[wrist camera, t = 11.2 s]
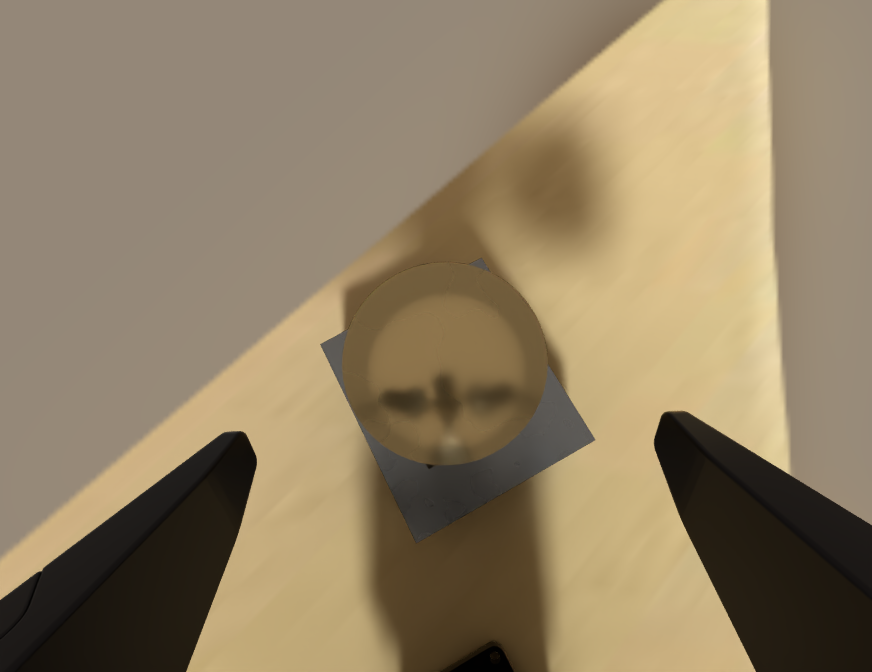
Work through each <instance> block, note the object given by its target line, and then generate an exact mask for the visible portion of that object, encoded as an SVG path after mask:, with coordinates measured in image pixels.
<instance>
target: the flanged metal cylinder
mask: <svg viewBox="0 0 872 672" xmlns="http://www.w3.org/2000/svg"><path fill="white" fill-rule="evenodd" d="M547 368H548V358H547V348H546V343H545V338H544V334H543V332H542V329H541V326H540V323H539V321H538V319H537V317H536V315H535V313H534V312H533V310H532V309H531V307H530V306H529V304H528V303H527V301H526V300H525V299H524V298H523V297H522V296H521V295H520V293H519V292H518V291H517V290H515V289H514V288H513V287H512V286H511V285H510V284H509V283H507V282H506V281H504V280H503V279H501V278H500V277H498V276H497V275H495V274H493V273H491V272H489V271H486V270H484V269H481V268H478V267H475V266H472V265H467V264H463V263H454V262H435V263H429V264H423V265H419V266H416V267H412V268H409V269H407V270H405V271H402V272H400V273H398V274H396V275H394V276H393V277H391V278H389V279H388V280H386V281H385V282H384V283H382V284H381V285H380V286H378V287H377V288H376V289H375V290H374V291H373V292H372V293H371V294H370V295H369V296H368V297H367V298H366V300H365V301H364V302H363V303H362V305H361V306H360V308H359V309H358V311H357V312H356V314H355V316H354V318H353V320H352V322H351V324H350V326H349V329H348V332H347V335H346V338H345V342H344V348H343V355H342V372H343V381H344V386H345V390H346V394H347V397H348V399H349V402H350V405H351V407H352V409H353V411H354V413H355V414H356V416H357V418H358V419H359V421H360V422H361V424H362V425H363V426H364V428H365V429H366V430H367V431H368V432H369V433H370V434H371V435H372V436H373V437H374V438H375V439H376V440H377V441H378V442H380V443H381V444H382V445H383V446H384V447H386V448H388V449H389V450H391V451H393V452H394V453H396V454H398V455H400V456H402V457H405V458H407V459H409V460H413V461H416V462H420V463H424V464H431V465H458V464H465V463H469V462H472V461H476V460H479V459H482V458H484V457H486V456H489V455H491V454H493V453H495V452H496V451H498V450H500V449H501V448H503V447H504V446H506V445H507V444H508V443H509V442H511V441H512V440H513V439H514V438H515V437H516V436H517V435H518V434H519V433H520V432H521V431H522V430H523V429H524V428H525V427H526V425H527V424H528V422H529V421H530V420H531V418H532V417H533V415H534V413H535V411H536V409H537V407H538V405H539V403H540V401H541V398H542V395H543V392H544V389H545V384H546V379H547Z"/></svg>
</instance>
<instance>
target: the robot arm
mask: <svg viewBox="0 0 872 672" xmlns="http://www.w3.org/2000/svg"><path fill="white" fill-rule="evenodd" d="M654 447H655V451H656V454H657V456H658V459H659V462H660V465H661V467H662V470H663V473H664V475H665V478H666V481H667V484H668V486H669V489H670V492H671V494H672V497H673V500H674V503H675V505H676V508H677V510H678V513H679V515H680V518H681V520H682V522H683V525H684V527H685V529H686V531H687V533H688V535H689V537H690V539H691V541H692V543H693V545H694V547H695V549H696V551H697V553H698V555H699V557H700V559H701V561H702V563H703V565H704V567H705V569H706V571H707V573H708V576H709V578H710V580H711V582H712V584H713V586H714V588H715V590H716V592H717V594H718V596H719V598H720V600H721V602H722V604H723V606H724V608H725V610H726V612H727V614H728V616H729V618H730V620H731V622H732V624H733V626H734V628H735V630H736V632H737V634H738V636H739V638H740V640H741V642H742V644H743V646H744V648H745V650H746V652H747V654H748V656H749V658H750V661H751V663H752V665H753V667H754V669H755V671H756V672H872V525H870V524H869V523H867V522H865V521H864V520H862V519H861V518H859V517H857V516H856V515H854V514H852V513H851V512H849V511H848V510H846V509H844V508H843V507H841V506H839V505H838V504H836V503H835V502H833V501H831V500H830V499H828V498H826V497H825V496H823V495H822V494H820V493H818V492H817V491H815V490H813V489H812V488H810V487H808V486H807V485H805V484H804V483H802V482H800V481H799V480H797V479H795V478H794V477H792V476H791V475H789V474H787V473H786V472H784V471H782V470H781V469H779V468H778V467H776V466H774V465H773V464H771V463H769V462H768V461H766V460H765V459H763V458H761V457H760V456H758V455H756V454H755V453H753V452H752V451H750V450H748V449H747V448H745V447H743V446H742V445H740V444H739V443H737V442H735V441H734V440H732V439H730V438H729V437H727V436H726V435H724V434H722V433H721V432H719V431H717V430H716V429H714V428H713V427H711V426H709V425H708V424H706V423H704V422H703V421H701V420H699V419H698V418H696V417H695V416H693V415H691V414H690V413H688V412H685V411H668V412H664V413H663V414H662V416H661V419H660V422H659V425H658V428H657V432H656V435H655V438H654ZM256 466H257V458H256V455H255V452H254V450H253V448H252V446H251V444H250V441H249V439H248V437H247V435H246V434H245V433H244V432H242V431H233V432H224V433H222V434H221V435H219V436H218V437H217V438H215V439H214V440H213V441H211V442H210V443H209V444H207V445H206V446H205V447H203V448H202V449H201V450H199V451H198V452H197V453H195V454H194V455H193V456H191V457H190V458H189V459H187V460H186V461H185V462H183V463H182V464H181V465H179V466H178V467H177V468H175V469H174V470H173V471H172V472H170V473H169V474H168V475H166V476H165V477H164V478H162V479H161V480H160V481H158V482H157V483H156V484H154V485H153V486H152V487H150V488H149V489H148V490H146V491H145V492H144V493H142V494H141V495H140V496H138V497H137V498H136V499H134V500H133V501H132V502H130V503H129V504H128V505H126V506H125V507H124V508H122V509H121V510H120V511H118V512H117V513H116V514H114V515H113V516H112V517H110V518H109V519H108V520H106V521H105V522H104V523H102V524H101V525H100V526H98V527H97V528H96V529H94V530H93V531H92V532H90V533H89V534H88V535H86V536H85V537H84V538H82V539H81V540H80V541H78V542H77V543H76V544H74V545H73V546H72V547H70V548H69V549H68V550H66V551H65V552H64V553H62V554H61V555H60V556H58V557H57V558H56V559H54V560H53V561H52V562H50V563H49V564H48V565H46V566H45V567H44V568H43V570H42V571H39V572H37V573H36V574H34V575H33V576H32V577H30V578H29V579H28V580H26V581H25V582H24V583H22V584H21V585H20V586H18V587H17V588H16V589H14V590H13V591H12V592H10V593H9V594H8V595H6V596H5V597H4V598H2V599H1V600H0V672H186V671H187V668H188V665H189V663H190V660H191V657H192V655H193V652H194V650H195V647H196V644H197V642H198V639H199V636H200V634H201V631H202V629H203V626H204V623H205V621H206V618H207V615H208V613H209V610H210V607H211V605H212V602H213V600H214V597H215V594H216V592H217V589H218V586H219V584H220V581H221V579H222V576H223V573H224V571H225V568H226V565H227V563H228V560H229V558H230V555H231V552H232V550H233V547H234V544H235V541H236V539H237V536H238V533H239V529H240V526H241V523H242V519H243V515H244V512H245V508H246V504H247V500H248V497H249V493H250V489H251V485H252V482H253V478H254V474H255V470H256ZM492 652H497V653H498V654H499V657H498V658H497V659H495V660H494V659H492V658H491V657H490V654H491V653H492ZM441 672H515V670H514V668H513V666H512V664H511V662H510V660H509V658H508V656H507V654H506V652H505V650H504V648H503V647H502V646H501V644H499V643H498V642H490V643H488V644H486V645H485V646H483V647H481V648H480V649H478V650H476V651H475V652H473V653H471V654H470V655H468V656H466V657H465V658H463V659H461V660H460V661H458V662H456V663H455V664H453V665H451V666H450V667H448V668H446V669H445V670H443V671H441Z"/></svg>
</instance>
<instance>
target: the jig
mask: <svg viewBox="0 0 872 672" xmlns="http://www.w3.org/2000/svg"><path fill="white" fill-rule="evenodd" d="M469 265H472V266H475V267H478V268H481V269H484V270H486V271H489V269H488V267H487V266H486V264H485V263H484V261H483V259H482V258H480V259H478V260H476V261H475V262H473V263H471V264H469ZM489 272H490V271H489ZM347 332H348V330H346V331H344V332H342V333H340V334H338V335H337V336H335V337H333V338H331V339H329V340H327V341H325V342H324V343H322V344H320V345H321V347H322V349H323V351H324V353H325V355H326V357H327V359H328V361H329V363H330V366H331V368H332V370H333V372H334V374H335V376H336V378H337V380H338V382H339V384H340V386H341V388H342V390H343V393H344V395H345V397H346V399H347V401H348V403H349V405H350V402H349V399H348V397H347V394H346V390H345V386H344V381H343V372H342V355H343V348H344V342H345V338H346V335H347ZM350 407H351V405H350ZM351 409H352V407H351ZM352 411H353V409H352ZM353 413H354V411H353ZM354 415H355V417H356V419H357V422H358V424H359V426H360V428H361V430H362V432H363V434H364V436H365V438H366V440H367V442H368V444H369V446H370V448H371V451H372V453H373V455H374V457H375V459H376V461H377V463H378V465H379V467H380V469H381V471H382V473H383V475H384V477H385V480H386V482H387V484H388V486H389V488H390V490H391V492H392V494H393V496H394V498H395V500H396V502H397V504H398V506H399V509H400V511H401V513H402V515H403V517H404V519H405V521H406V523H407V525H408V527H409V529H410V531H411V533H412V536H413V538H414V540H415V542H416V543H418V542H420V541H421V540H423V539H425V538H426V537H428V536H430V535H432V534H433V533H435V532H437V531H439V530H440V529H442V528H444V527H446V526H447V525H449V524H451V523H452V522H454V521H456V520H458V519H459V518H461V517H463V516H465V515H466V514H468V513H470V512H472V511H473V510H475V509H477V508H478V507H480V506H482V505H484V504H485V503H487V502H489V501H491V500H492V499H494V498H496V497H497V496H499V495H501V494H503V493H504V492H506V491H508V490H510V489H511V488H513V487H515V486H517V485H518V484H520V483H522V482H523V481H525V480H527V479H529V478H530V477H532V476H534V475H536V474H537V473H539V472H541V471H542V470H544V469H546V468H548V467H549V466H551V465H553V464H555V463H556V462H558V461H560V460H562V459H563V458H565V457H567V456H568V455H570V454H572V453H574V452H575V451H577V450H579V449H581V448H582V447H584V446H586V445H588V444H589V443H591V442H593V441H594V440H595V438H594V437H593V435H592V434H591V432H590V430H589V429H588V427H587V426H586V424H585V422H584V421H583V419H582V418H581V416H580V414H579V413H578V411H577V410H576V408H575V406H574V405H573V403H572V402H571V400H570V398H569V397H568V395H567V394H566V392H565V390H564V389H563V387H562V386H561V384H560V382H559V381H558V379H557V378H556V376H555V375H554V373H553V371H552V370H551V368H550V367H549V365H548V368H547V379H546V384H545V389H544V392H543V395H542V398H541V401H540V403H539V405H538V407H537V409H536V411H535V413H534V415H533V417H532V418H531V420H530V421H529V422H528V424H527V425H526V427H525V428H524V429H523V430H522V431H521V432H520V433H519V434H518V435H517V436H516V437H515V438H514V439H513V440H512V441H511V442H509V443H508V444H507V445H506V446H504V447H503V448H501V449H500V450H498V451H496V452H495V453H493V454H491V455H489V456H486V457H484V458H482V459H479V460H476V461H472V462H469V463H465V464H458V465H431V464H424V463H420V462H416V461H413V460H409V459H407V458H405V457H402V456H400V455H398V454H396V453H394V452H393V451H391V450H389V449H388V448H386V447H384V446H383V445H382V444H381V443H380V442H378V441H377V440H376V439H375V438H374V437H373V436H372V435H371V434H370V433H369V432H368V431H367V430H366V429H365V428H364V426H363V425H362V424H361V422H360V421H359V419H358V418H357V416H356V414H355V413H354Z"/></svg>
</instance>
